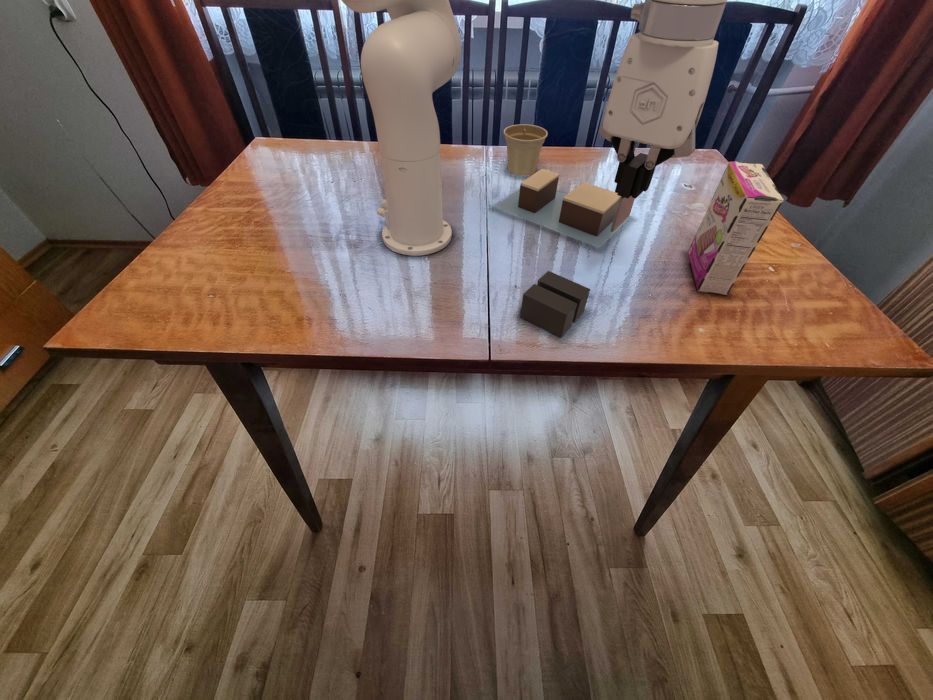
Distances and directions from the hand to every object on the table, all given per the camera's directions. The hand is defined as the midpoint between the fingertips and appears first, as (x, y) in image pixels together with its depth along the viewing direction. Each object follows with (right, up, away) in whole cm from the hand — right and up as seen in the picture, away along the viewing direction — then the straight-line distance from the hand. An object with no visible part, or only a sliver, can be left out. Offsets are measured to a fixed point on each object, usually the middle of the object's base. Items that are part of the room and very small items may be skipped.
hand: (629, 190), depth 57 cm
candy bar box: (+18, -9, +13) cm, 24 cm away
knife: (0, -3, +4) cm, 5 cm away
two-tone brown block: (-8, +8, +28) cm, 30 cm away
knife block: (-9, -16, +6) cm, 20 cm away
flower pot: (-10, +19, +39) cm, 44 cm away
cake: (+1, +3, +23) cm, 23 cm away
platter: (-3, +5, +26) cm, 27 cm away
